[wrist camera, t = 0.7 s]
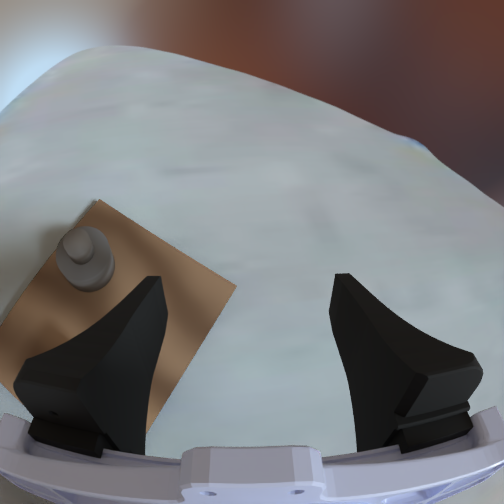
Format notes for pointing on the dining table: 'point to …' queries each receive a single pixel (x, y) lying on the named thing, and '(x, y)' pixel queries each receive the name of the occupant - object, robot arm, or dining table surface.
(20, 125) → the dining table surface
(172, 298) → the peg board
